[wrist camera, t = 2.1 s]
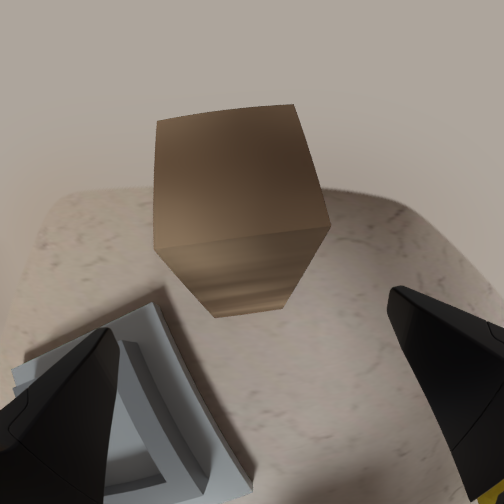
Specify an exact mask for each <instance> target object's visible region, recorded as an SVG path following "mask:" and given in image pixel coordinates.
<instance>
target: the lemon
mask: <svg viewBox="0 0 504 504" xmlns="http://www.w3.org/2000/svg"><path fill="white" fill-rule="evenodd" d="M503 491H504V479H503V480H502V481H501V482H499V483H498V484H497V485H495V486H494V487H493V488H491V489H490V490H489V491H487V492H486V493H484V494H483V495H481V496H480V497H478V498H477V499H478V503H479V504H495V503H496V500H497V497H498V495H499V494H500V493H502V492H503Z"/></svg>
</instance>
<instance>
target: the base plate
mask: <svg viewBox="0 0 504 504" xmlns="http://www.w3.org/2000/svg"><path fill="white" fill-rule="evenodd" d="M101 327H109V328H110V329H111V330H112V332H113V334H114V336H115V338H116V341H117V343H118V345H119V348H120V359H119V371H118V385H117V394H116V401H115V407H114V413H113V419H112V426H111V433H110V440H109V448H108V456H107V466H106V476H105V488H104V503H103V504H221V503H224V502H227V501H230V500H233V499H236V498H239V497H241V496H244V495H247V494H250V493H252V492H253V483H252V482H251V480H250V479H249V477H248V476H247V474H246V472H245V471H244V469H243V468H242V466H241V465H240V463H239V461H238V460H237V458H236V457H235V455H234V453H233V452H232V450H231V448H230V447H229V445H228V443H227V442H226V440H225V438H224V436H223V435H222V433H221V431H220V429H219V428H218V426H217V424H216V422H215V421H214V419H213V417H212V415H211V413H210V412H209V410H208V408H207V406H206V404H205V402H204V400H203V398H202V397H201V395H200V393H199V391H198V389H197V387H196V385H195V383H194V381H193V379H192V377H191V375H190V373H189V371H188V369H187V367H186V365H185V363H184V361H183V359H182V357H181V354H180V352H179V350H178V348H177V346H176V344H175V341H174V339H173V337H172V335H171V333H170V330H169V328H168V326H167V324H166V321H165V319H164V317H163V314H162V312H161V310H160V307H159V306H158V305H156V304H155V303H153V302H151V303H149V304H147V305H145V306H143V307H141V308H139V309H137V310H134V311H132V312H130V313H128V314H126V315H124V316H122V317H120V318H118V319H116V320H114V321H112V322H109V323H107V324H105V325H103V326H101ZM95 330H96V329H95ZM93 331H94V330H93ZM93 331H91V332H89V333H87V334H84V335H82V336H80V337H78V338H76V339H74V340H72V341H70V342H68V343H66V344H64V345H62V346H59V347H57V348H55V349H53V350H51V351H49V352H47V353H45V354H43V355H41V356H39V357H37V358H34V359H32V360H30V361H28V362H26V363H24V364H22V365H20V366H18V367H16V368H14V369H11V370H12V374H13V377H14V380H15V384H16V387H14V388H13V391H14V394H15V397H17V396H18V395H20V394H21V393H22V392H23V391H24V390H25V389H26V388H28V387H29V386H30V385H31V384H32V383H33V382H34V381H35V380H37V379H38V378H39V377H40V376H41V375H42V374H43V373H45V372H46V371H47V370H48V369H49V368H50V367H52V366H53V365H54V364H55V363H56V362H57V361H59V360H60V359H61V358H62V357H63V356H64V355H66V354H67V353H68V352H69V351H70V350H72V349H73V348H74V347H75V346H76V345H78V344H79V343H80V342H81V341H82V340H84V339H85V338H86V337H87V336H88V335H90V334H91V333H92V332H93Z"/></svg>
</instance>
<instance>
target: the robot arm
mask: <svg viewBox="0 0 504 504" xmlns="http://www.w3.org/2000/svg"><path fill="white" fill-rule="evenodd" d="M387 314H388V317H389V319H390V322H391V324H392V327H393V329H394V331H395V334H396V336H397V339H398V341H399V344H400V346H401V348H402V351H403V353H404V355H405V357H406V359H407V360H408V362H409V364H410V366H411V368H412V370H413V372H414V374H415V376H416V378H417V380H418V382H419V384H420V386H421V388H422V390H423V392H424V394H425V396H426V398H427V400H428V402H429V404H430V406H431V409H432V411H433V413H434V415H435V417H436V419H437V421H438V424H439V426H440V428H441V430H442V433H443V435H444V437H445V439H446V442H447V444H448V446H449V449H450V451H451V454H452V456H453V459H454V461H455V464H456V466H457V469H458V471H459V474H460V477H461V479H462V482H463V484H464V487H465V490H466V493H467V495H468V498H469V500H470V502H472V501H474V500H475V499H477V498H478V497H480V496H481V495H483V494H484V493H486V492H487V491H489V490H490V489H491V488H493V487H494V486H495V485H497V484H498V483H499V482H501V481H502V480H503V479H504V328H502V327H500V326H497V325H495V324H493V323H491V322H486V320H484V319H481V318H479V317H477V316H474V315H472V314H470V313H467V312H465V311H463V310H460V309H458V308H456V307H453V306H451V305H448V304H446V303H444V302H441V301H439V300H436V299H434V298H432V297H429V296H427V295H424V294H422V293H420V292H417V291H415V290H412V289H410V288H407V287H405V286H397V287H393V288H391V290H390V293H389V299H388V304H387ZM119 359H120V348H119V345H118V343H117V341H116V338H115V336H114V334H113V332H112V330H111V329H110V328H109V327H99V328H97V329H96V330H94V331H93V332H92V333H91V334H90V335H88V336H87V337H86V338H85V339H84V340H82V341H81V342H80V343H79V344H78V345H76V346H75V347H74V348H73V349H72V350H70V351H69V352H68V353H67V354H66V355H64V356H63V357H62V358H61V359H60V360H59V361H57V362H56V363H55V364H54V365H53V366H52V367H50V368H49V369H48V370H47V371H46V372H45V373H43V374H42V375H41V376H40V377H39V378H38V379H37V380H35V381H34V382H33V383H32V384H31V385H30V386H29V387H28V388H26V389H25V390H24V391H23V392H22V393H21V394H20V395H18V396H17V397H16V398H15V399H14V400H13V401H11V402H10V403H9V404H8V405H6V406H5V407H4V408H3V409H1V410H0V504H103V503H104V488H105V476H106V466H107V456H108V448H109V440H110V433H111V426H112V419H113V413H114V407H115V401H116V394H117V385H118V371H119ZM495 504H504V491H503V492H502V493H500V494H499V495H498V497H497V500H496V503H495Z"/></svg>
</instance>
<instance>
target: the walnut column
mask: <svg viewBox="0 0 504 504" xmlns="http://www.w3.org/2000/svg"><path fill="white" fill-rule="evenodd" d="M154 165H155V166H154V198H153V234H154V250H155V252H156V253H157V254H158V255H159V256H160V257H161V259H162V260H163V261H164V262H165V263H166V264H167V266H168V267H169V268H170V269H171V270H172V271H173V272H174V274H175V275H176V276H177V277H178V278H179V279H180V280H181V282H182V283H183V284H184V285H185V286H186V287H187V288H188V289H189V291H190V292H191V293H192V294H193V295H194V296H195V297H196V298H197V299H198V301H199V302H200V303H201V304H202V305H203V306H204V307H205V308H206V309H207V310H208V311H209V313H210V314H211V315H212V316H213V317H214V318H220V317H228V316H235V315H243V314H250V313H257V312H264V311H271V310H277V309H282V308H283V307H284V305H285V304H286V302H287V300H288V299H289V297H290V295H291V294H292V292H293V290H294V289H295V287H296V286H297V284H298V282H299V281H300V279H301V277H302V276H303V274H304V272H305V270H306V269H307V267H308V265H309V264H310V262H311V260H312V259H313V257H314V255H315V253H316V252H317V250H318V248H319V246H320V245H321V243H322V241H323V239H324V238H325V236H326V234H327V232H328V231H329V229H330V227H331V223H330V220H329V216H328V212H327V209H326V205H325V201H324V198H323V194H322V191H321V187H320V184H319V180H318V177H317V174H316V170H315V167H314V164H313V161H312V157H311V154H310V151H309V148H308V145H307V142H306V139H305V136H304V133H303V130H302V127H301V124H300V121H299V118H298V115H297V112H296V110H295V107H294V104H292V105H274V106H260V107H249V108H239V109H230V110H222V111H214V112H207V113H200V114H193V115H188V116H181V117H176V118H170V119H165V120H160V121H157V129H156V143H155V164H154Z"/></svg>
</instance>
